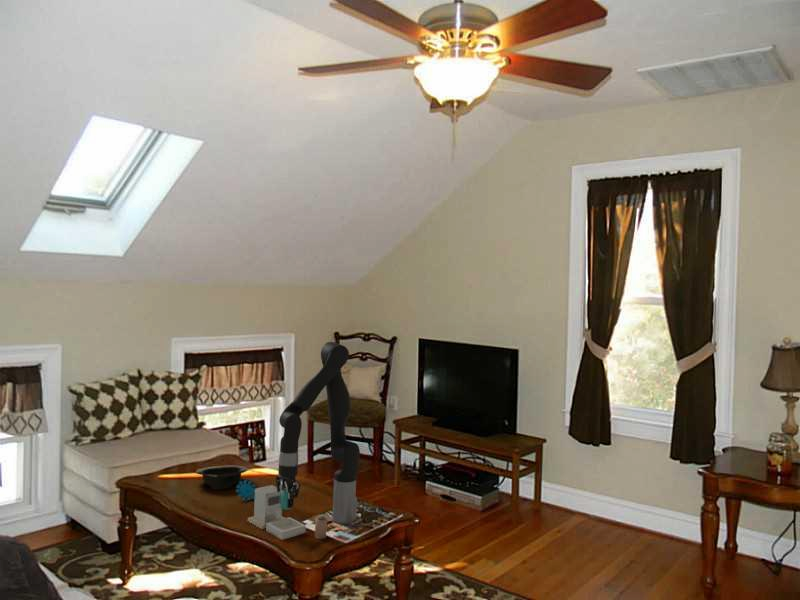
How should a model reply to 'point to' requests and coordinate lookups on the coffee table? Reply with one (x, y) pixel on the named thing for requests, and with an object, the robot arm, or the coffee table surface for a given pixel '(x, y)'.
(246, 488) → the gear
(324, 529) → the beige cylinder
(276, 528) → the tray
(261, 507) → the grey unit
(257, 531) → the coffee table surface
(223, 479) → the stone bowl
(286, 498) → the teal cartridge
